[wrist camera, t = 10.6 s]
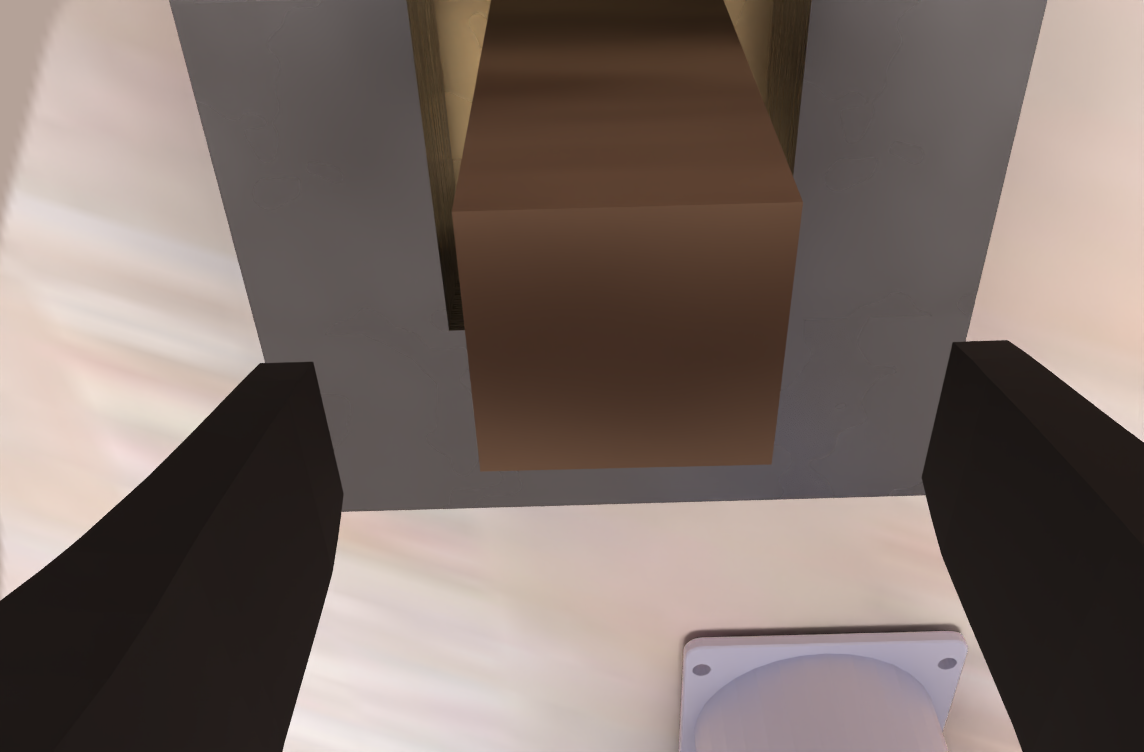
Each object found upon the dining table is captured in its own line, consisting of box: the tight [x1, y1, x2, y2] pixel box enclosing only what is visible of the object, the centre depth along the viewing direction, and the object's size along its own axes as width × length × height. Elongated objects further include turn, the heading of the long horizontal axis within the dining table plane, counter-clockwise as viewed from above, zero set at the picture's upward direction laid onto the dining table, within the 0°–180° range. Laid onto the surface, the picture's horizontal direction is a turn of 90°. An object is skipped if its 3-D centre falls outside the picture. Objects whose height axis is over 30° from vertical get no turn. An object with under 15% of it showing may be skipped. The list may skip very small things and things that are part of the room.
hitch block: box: [169, 0, 1047, 512], centre depth 18 cm, size 15×13×4 cm
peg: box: [452, 0, 803, 472], centre depth 16 cm, size 4×4×8 cm
